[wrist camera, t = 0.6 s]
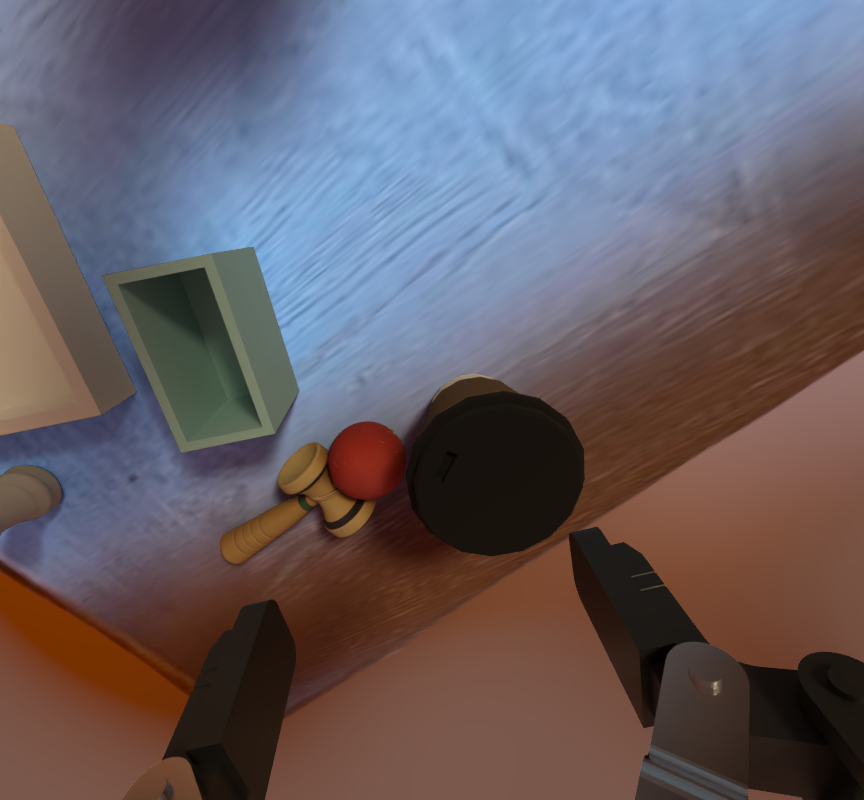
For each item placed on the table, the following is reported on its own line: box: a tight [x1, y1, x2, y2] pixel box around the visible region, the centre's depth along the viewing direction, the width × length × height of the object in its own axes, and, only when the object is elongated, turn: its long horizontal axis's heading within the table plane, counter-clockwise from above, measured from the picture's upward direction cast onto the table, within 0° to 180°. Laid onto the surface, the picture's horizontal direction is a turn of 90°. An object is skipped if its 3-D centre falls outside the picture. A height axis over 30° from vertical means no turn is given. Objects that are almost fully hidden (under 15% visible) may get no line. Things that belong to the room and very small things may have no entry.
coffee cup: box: [406, 374, 584, 556], centre depth 32 cm, size 11×11×12 cm
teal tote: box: [102, 247, 299, 453], centre depth 30 cm, size 11×6×8 cm, turn 11°
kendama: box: [220, 422, 406, 564], centre depth 37 cm, size 8×6×18 cm
